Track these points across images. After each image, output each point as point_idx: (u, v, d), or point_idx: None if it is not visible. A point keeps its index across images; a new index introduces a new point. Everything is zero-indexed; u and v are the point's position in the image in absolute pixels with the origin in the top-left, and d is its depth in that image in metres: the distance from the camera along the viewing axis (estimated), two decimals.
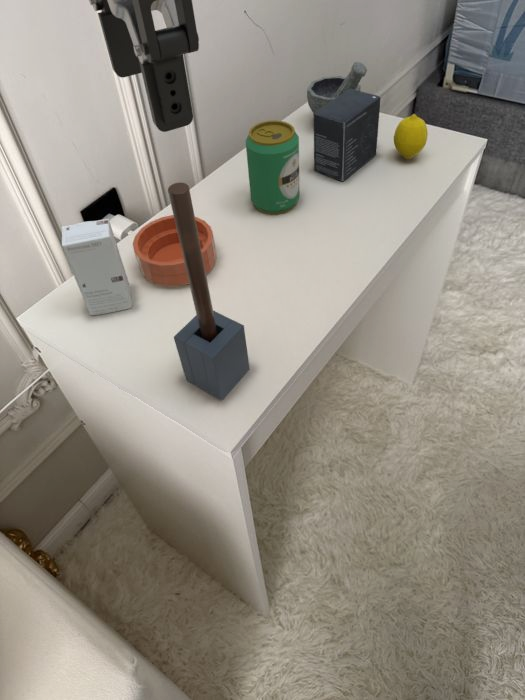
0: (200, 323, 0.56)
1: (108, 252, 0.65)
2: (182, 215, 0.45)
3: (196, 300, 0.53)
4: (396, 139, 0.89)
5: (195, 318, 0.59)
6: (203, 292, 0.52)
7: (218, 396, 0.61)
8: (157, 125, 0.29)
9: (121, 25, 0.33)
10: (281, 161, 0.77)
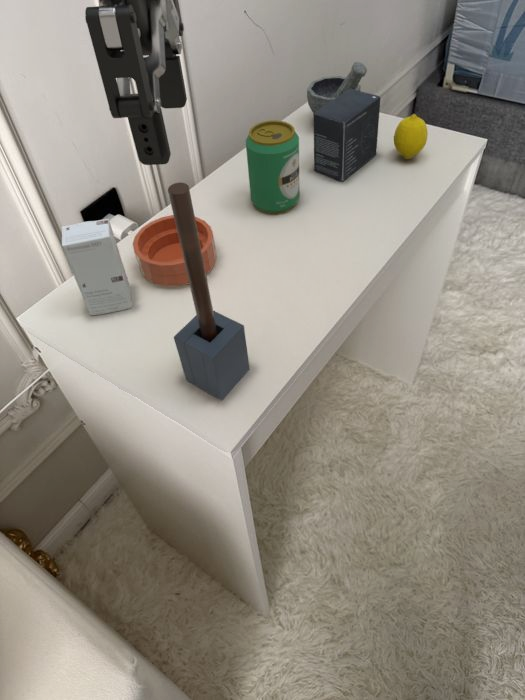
0: (200, 323, 0.56)
1: (108, 252, 0.65)
2: (182, 215, 0.45)
3: (196, 300, 0.53)
4: (396, 139, 0.89)
5: (195, 318, 0.59)
6: (203, 292, 0.52)
7: (218, 396, 0.61)
8: (139, 159, 0.37)
9: (166, 70, 0.41)
10: (281, 161, 0.77)
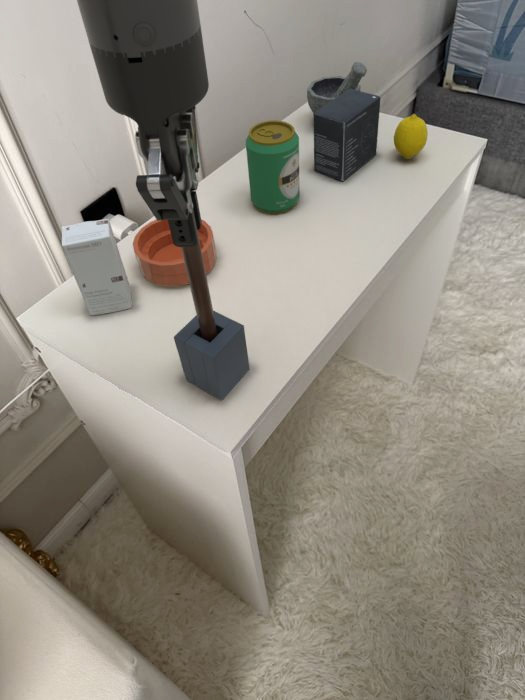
0: (200, 323, 0.56)
1: (108, 252, 0.65)
2: None
3: (196, 300, 0.53)
4: (396, 139, 0.89)
5: (195, 318, 0.59)
6: (203, 292, 0.52)
7: (218, 396, 0.61)
8: (173, 242, 0.47)
9: None
10: (281, 161, 0.77)
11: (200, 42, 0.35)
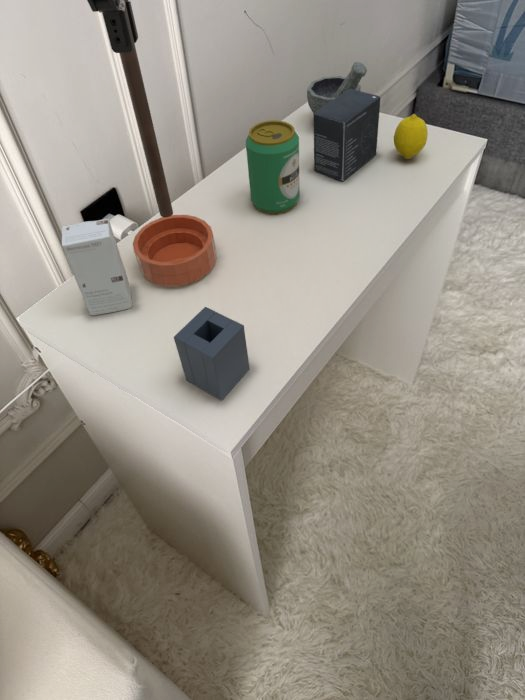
0: (144, 147, 0.63)
1: (108, 252, 0.65)
2: None
3: (138, 119, 0.61)
4: (397, 139, 0.89)
5: (195, 318, 0.59)
6: (144, 109, 0.60)
7: (218, 396, 0.61)
8: (112, 48, 0.54)
9: None
10: (281, 161, 0.77)
11: None
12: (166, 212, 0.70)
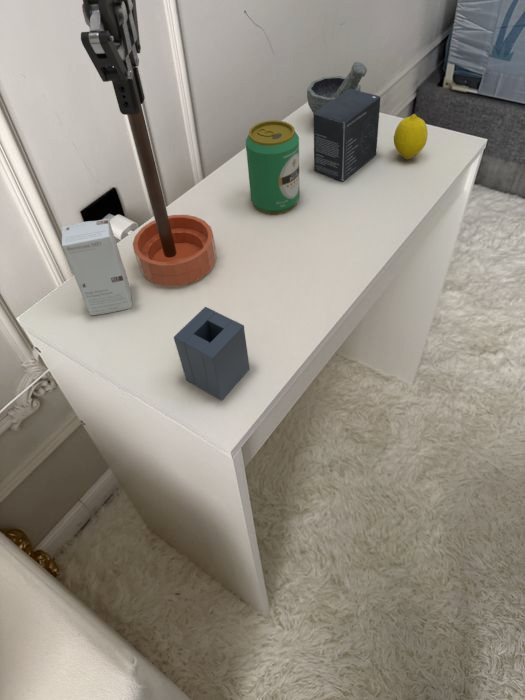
0: (150, 196, 0.67)
1: (108, 252, 0.65)
2: None
3: (144, 171, 0.64)
4: (396, 139, 0.89)
5: (195, 318, 0.59)
6: (149, 163, 0.63)
7: (218, 396, 0.61)
8: (120, 110, 0.58)
9: None
10: (281, 161, 0.77)
11: None
12: (170, 253, 0.74)
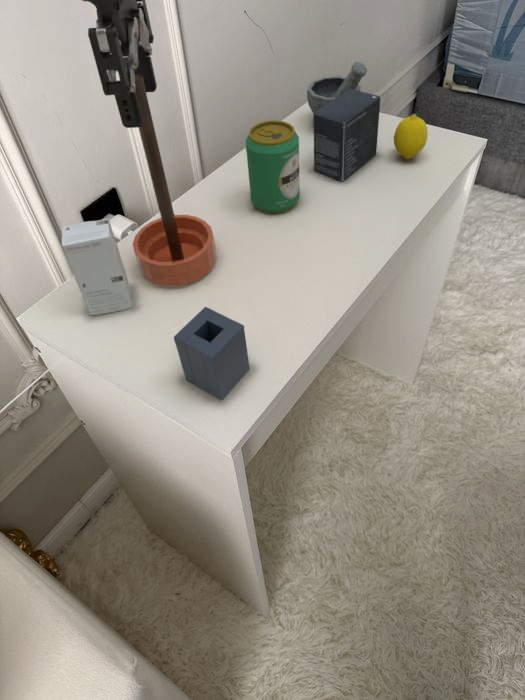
0: (159, 205, 0.69)
1: (108, 252, 0.65)
2: None
3: (154, 182, 0.67)
4: (396, 139, 0.89)
5: (195, 318, 0.59)
6: (159, 173, 0.66)
7: (218, 396, 0.61)
8: (123, 123, 0.57)
9: (142, 66, 0.61)
10: (281, 161, 0.77)
11: None
12: (178, 259, 0.76)
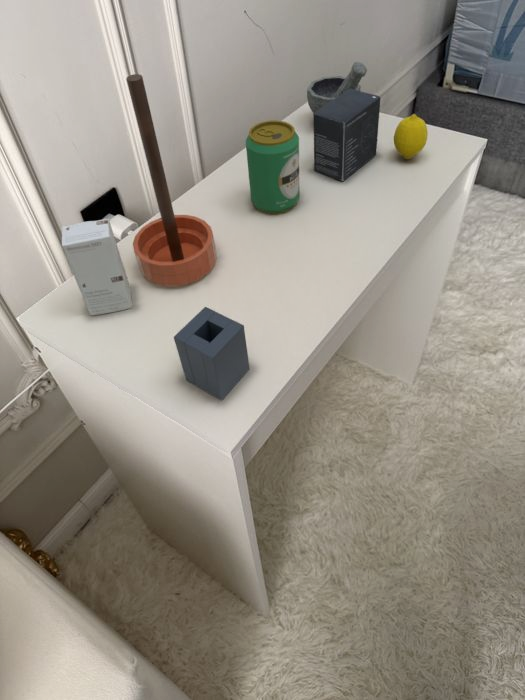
0: (159, 205, 0.69)
1: (108, 252, 0.65)
2: (138, 100, 0.59)
3: (154, 182, 0.67)
4: (396, 139, 0.89)
5: (195, 318, 0.59)
6: (159, 173, 0.66)
7: (218, 396, 0.61)
8: None
9: None
10: (281, 161, 0.77)
11: None
12: (178, 259, 0.76)
